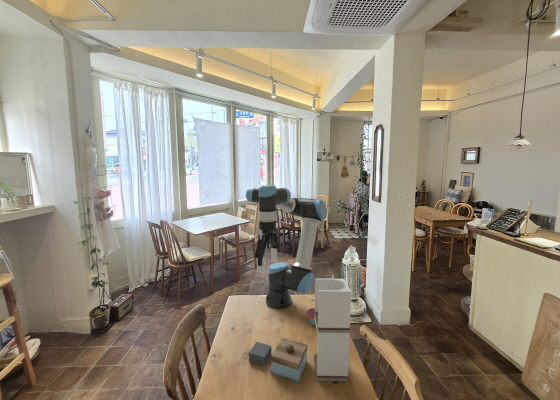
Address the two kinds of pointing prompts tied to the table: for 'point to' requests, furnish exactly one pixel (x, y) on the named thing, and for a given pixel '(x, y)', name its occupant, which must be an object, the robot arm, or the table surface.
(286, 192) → the robot arm
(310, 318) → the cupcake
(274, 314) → the table surface
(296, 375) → the dish
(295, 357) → the lid
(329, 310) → the white stacked pedestal
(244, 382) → the table surface
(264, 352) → the block
